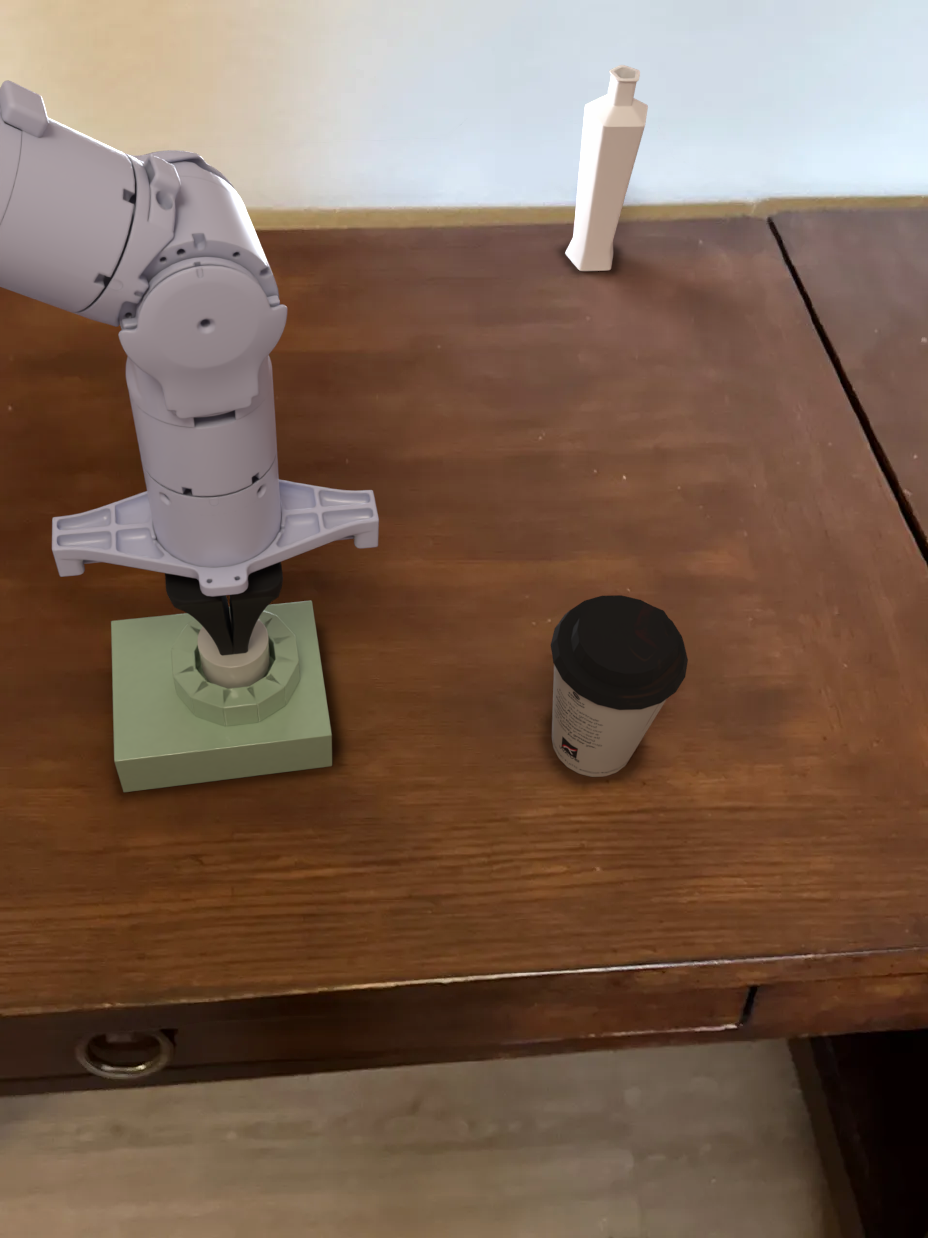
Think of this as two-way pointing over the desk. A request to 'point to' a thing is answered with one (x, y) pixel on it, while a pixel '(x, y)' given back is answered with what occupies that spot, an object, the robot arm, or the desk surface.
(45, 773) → the desk surface
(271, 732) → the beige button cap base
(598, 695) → the coffee cup
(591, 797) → the desk surface
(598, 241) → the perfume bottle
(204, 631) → the beige button cap
